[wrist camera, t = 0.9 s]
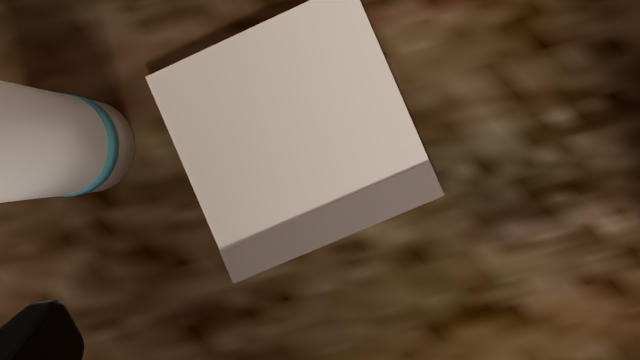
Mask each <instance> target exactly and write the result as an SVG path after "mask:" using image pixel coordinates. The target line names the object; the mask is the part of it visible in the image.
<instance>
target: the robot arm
mask: <svg viewBox="0 0 640 360" xmlns="http://www.w3.org/2000/svg"><path fill="white" fill-rule="evenodd" d="M83 351H84V342H83V338H82V335H81V333H80V331H79V329H78V328H77V326H76V324H75V322H74V321H73V319H72V317H71V315H70V313H69V312H68V310H67V308H66V306H65V305H64V304H63V303H62V302H60V301H57V300H51V301H41V302H35V303H32V304H30V305H28V306H27V307H25V308H24V309H23V310H22V311H21V312H19V313H18V314H17V315H16V316H14V317H13V318H12V319H11V320H9V321H8V322H7V323H6V324H4V325H3V326H2V327H1V328H0V360H82V357H83Z"/></svg>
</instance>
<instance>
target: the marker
mask: <svg viewBox="0 0 640 360" xmlns="http://www.w3.org/2000/svg"><path fill="white" fill-rule="evenodd" d="M134 154H135V140H134V135H133V132H132V129H131V127H130V125H129V123H128V122H127V120H126V119H125V117H124V116H123V115H122V114H121V113H120V112H119V111H118V110H116V109H115V108H113V107H112V106H110V105H108V104H105V103H102V102H98V101H93V100H90V99H87V98H84V97H81V96H76V95H72V94H66V93H56V92H51V91H47V90H42V89H37V88H33V87H28V86H24V85H19V84H14V83H10V82H5V81H0V203H2V202H11V201H19V200H28V199H37V198H46V197H67V196H76V195H82V194H86V193H91V192H99V191H103V190H106V189H109V188H111V187H113V186H114V185H116V184H117V183H119V182H120V181H121V180H122V179H123V178H124V176H125V175H126V174H127V172H128V171H129V169H130V167H131V165H132V162H133V159H134Z"/></svg>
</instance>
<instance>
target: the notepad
mask: <svg viewBox="0 0 640 360" xmlns="http://www.w3.org/2000/svg"><path fill="white" fill-rule="evenodd" d="M145 78H146V80H147V82H148V85H149V87H150V89H151V92H152V94H153V96H154V99H155V101H156V103H157V106H158V108H159V110H160V113H161V115H162V117H163V120H164V122H165V124H166V127H167V129H168V131H169V134H170V136H171V138H172V140H173V143H174V145H175V147H176V150H177V152H178V154H179V157H180V159H181V161H182V164H183V166H184V168H185V171H186V173H187V175H188V178H189V180H190V182H191V185H192V187H193V189H194V192H195V194H196V196H197V199H198V201H199V203H200V206H201V208H202V210H203V213H204V215H205V217H206V220H207V222H208V224H209V227H210V229H211V231H212V234H213V236H214V238H215V241H216V243H217V245H218V248H219V250H220V254H221V256H222V259H223V261H224V263H225V266H226V268H227V270H228V273H229V275H230V277H231V280H232V282H233V284H234V283H237V282H239V281H241V280H244V279H246V278H249V277H251V276H253V275H256V274H258V273H260V272H263V271H265V270H268V269H270V268H272V267H275V266H277V265H280V264H282V263H284V262H287V261H289V260H291V259H294V258H296V257H299V256H301V255H303V254H306V253H308V252H310V251H313V250H315V249H318V248H320V247H322V246H325V245H327V244H330V243H332V242H334V241H337V240H339V239H341V238H344V237H346V236H349V235H351V234H353V233H356V232H358V231H361V230H363V229H365V228H368V227H370V226H372V225H375V224H377V223H380V222H382V221H384V220H387V219H389V218H392V217H394V216H396V215H399V214H401V213H403V212H406V211H408V210H411V209H413V208H415V207H418V206H420V205H423V204H425V203H427V202H430V201H432V200H434V199H437V198H439V197H442V196H444V193H443V191H442V188H441V186H440V184H439V181H438V179H437V177H436V174H435V172H434V170H433V168H432V165H431V163H430V161H429V159H428V157H427V154H426V152H425V150H424V147H423V145H422V143H421V140H420V138H419V136H418V133H417V131H416V129H415V126H414V124H413V122H412V120H411V117H410V115H409V113H408V110H407V108H406V106H405V103H404V101H403V99H402V96H401V94H400V92H399V90H398V87H397V85H396V83H395V80H394V78H393V76H392V73H391V71H390V69H389V66H388V64H387V62H386V59H385V57H384V55H383V53H382V50H381V48H380V46H379V43H378V41H377V39H376V36H375V34H374V32H373V29H372V27H371V25H370V22H369V20H368V18H367V16H366V13H365V11H364V9H363V6H362V4H361V2H360V0H309V1H307V2H305V3H303V4H301V5H299V6H296V7H294V8H292V9H290V10H288V11H286V12H284V13H281V14H279V15H277V16H275V17H273V18H271V19H269V20H266V21H264V22H262V23H260V24H258V25H256V26H254V27H251V28H249V29H247V30H245V31H243V32H241V33H239V34H236V35H234V36H232V37H230V38H228V39H226V40H224V41H221V42H219V43H217V44H215V45H213V46H211V47H209V48H206V49H204V50H202V51H200V52H198V53H196V54H193V55H191V56H189V57H187V58H185V59H183V60H181V61H178V62H176V63H174V64H172V65H170V66H168V67H166V68H163V69H161V70H159V71H157V72H155V73H153V74H151V75H148V76H146V77H145Z"/></svg>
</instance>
